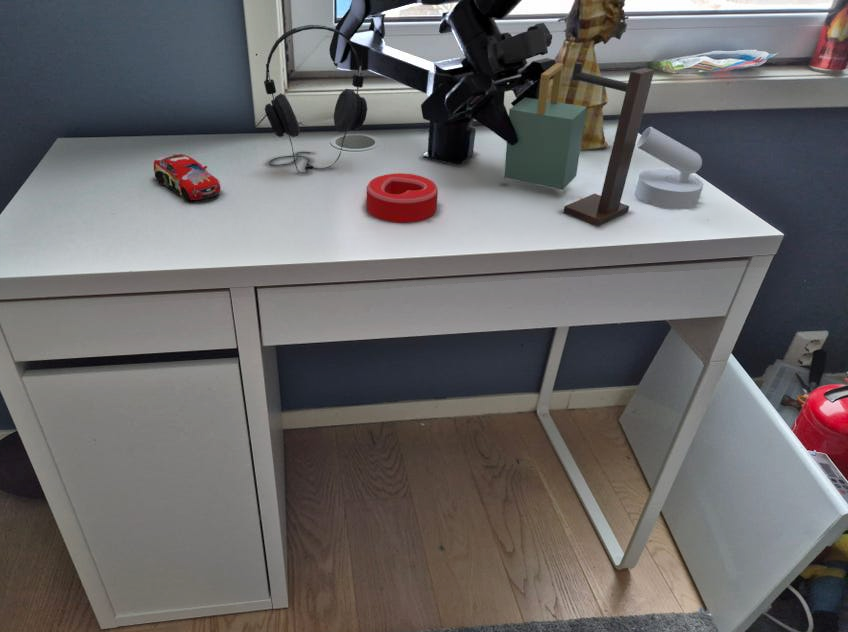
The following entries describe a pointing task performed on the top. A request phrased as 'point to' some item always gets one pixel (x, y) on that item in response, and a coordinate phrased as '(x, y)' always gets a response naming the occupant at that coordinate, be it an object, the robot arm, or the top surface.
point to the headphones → (347, 107)
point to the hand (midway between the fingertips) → (529, 139)
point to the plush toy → (588, 60)
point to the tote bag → (545, 137)
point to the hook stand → (615, 147)
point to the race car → (186, 177)
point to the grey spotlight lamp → (669, 173)
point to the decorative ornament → (401, 198)
